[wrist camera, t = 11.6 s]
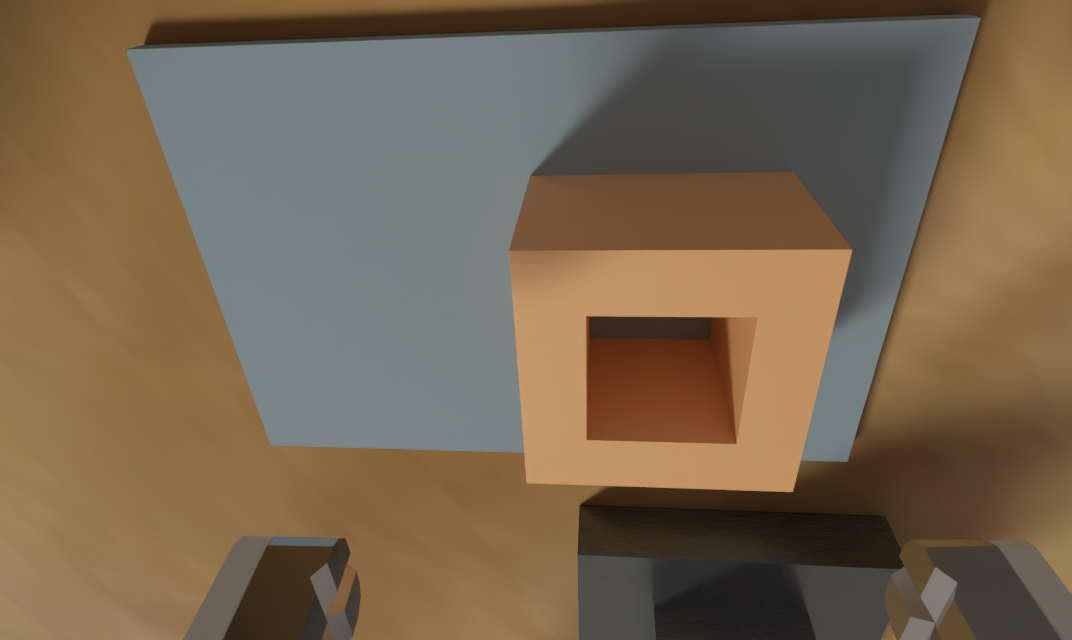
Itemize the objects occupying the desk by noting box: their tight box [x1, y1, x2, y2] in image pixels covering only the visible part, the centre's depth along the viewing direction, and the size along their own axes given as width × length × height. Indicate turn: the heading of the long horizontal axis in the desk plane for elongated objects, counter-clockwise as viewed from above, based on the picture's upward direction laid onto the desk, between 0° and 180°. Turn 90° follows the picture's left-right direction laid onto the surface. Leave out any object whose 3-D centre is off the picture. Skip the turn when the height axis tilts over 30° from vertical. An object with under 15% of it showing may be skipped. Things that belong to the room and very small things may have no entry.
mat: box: [126, 14, 981, 462], centre depth 17 cm, size 18×12×1 cm, turn 93°
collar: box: [509, 172, 852, 492], centre depth 14 cm, size 6×6×4 cm
